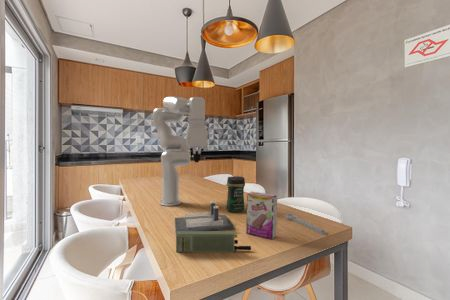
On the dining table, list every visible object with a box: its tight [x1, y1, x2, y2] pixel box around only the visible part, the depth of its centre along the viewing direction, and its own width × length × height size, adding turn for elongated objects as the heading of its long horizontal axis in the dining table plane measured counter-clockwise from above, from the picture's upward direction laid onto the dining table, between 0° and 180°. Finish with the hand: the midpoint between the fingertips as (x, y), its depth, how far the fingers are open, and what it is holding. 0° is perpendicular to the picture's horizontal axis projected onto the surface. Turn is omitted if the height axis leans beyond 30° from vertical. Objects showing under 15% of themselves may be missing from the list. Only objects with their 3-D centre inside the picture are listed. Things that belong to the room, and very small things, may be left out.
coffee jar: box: [225, 175, 246, 213], centre depth 120 cm, size 10×8×19 cm
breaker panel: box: [174, 211, 235, 234], centre depth 98 cm, size 15×24×4 cm, turn 104°
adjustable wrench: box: [283, 212, 328, 236], centre depth 101 cm, size 25×6×2 cm, turn 17°
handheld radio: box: [175, 230, 252, 253], centre depth 75 cm, size 7×3×25 cm
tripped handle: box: [209, 200, 216, 215], centre depth 103 cm, size 2×2×6 cm
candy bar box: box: [245, 191, 278, 240], centre depth 88 cm, size 11×5×16 cm, turn 59°
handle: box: [213, 205, 220, 221], centre depth 95 cm, size 2×2×6 cm
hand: (196, 162), depth 106 cm, fingers closed
